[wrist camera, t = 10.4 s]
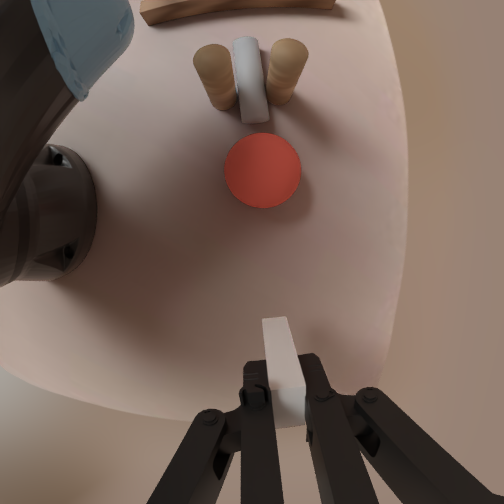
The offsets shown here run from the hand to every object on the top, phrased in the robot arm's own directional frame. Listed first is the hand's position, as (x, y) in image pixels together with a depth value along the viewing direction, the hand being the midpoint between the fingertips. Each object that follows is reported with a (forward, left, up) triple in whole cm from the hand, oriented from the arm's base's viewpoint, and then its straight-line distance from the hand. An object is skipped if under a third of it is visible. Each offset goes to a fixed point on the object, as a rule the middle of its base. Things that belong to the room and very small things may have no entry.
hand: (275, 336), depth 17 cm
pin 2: (+3, +18, -10) cm, 21 cm away
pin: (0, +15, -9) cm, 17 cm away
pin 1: (-2, +18, -10) cm, 21 cm away
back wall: (0, +30, -10) cm, 32 cm away
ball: (0, +10, -7) cm, 12 cm away
